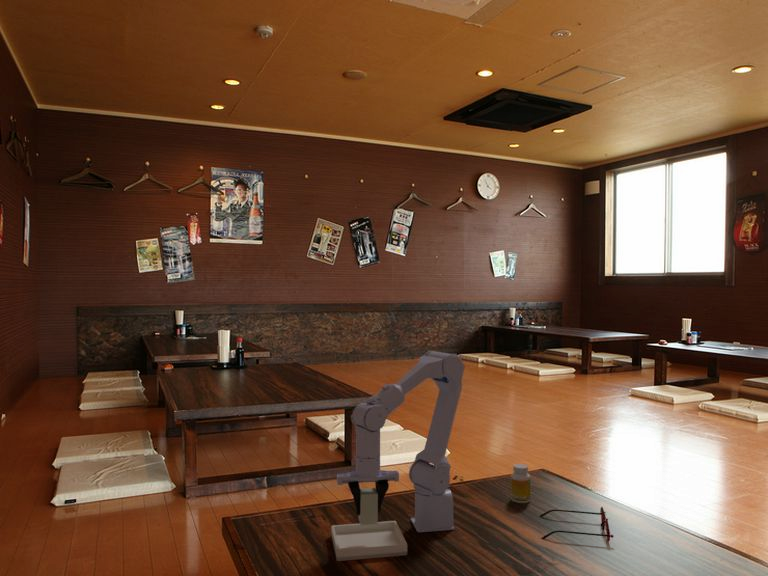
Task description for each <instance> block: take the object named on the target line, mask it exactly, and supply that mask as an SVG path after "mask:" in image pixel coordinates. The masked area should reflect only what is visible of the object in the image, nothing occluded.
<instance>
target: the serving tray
mask: <svg viewBox="0 0 768 576" xmlns="http://www.w3.org/2000/svg"><path fill="white" fill-rule="evenodd" d="M330 534H331V541H332V546H333V551H334V554H335V558H336V562H342V561H343V562H344V561H355V560H356V561H357V560H367V559H376V558H378V559H379V558H390V557H402V556H408V543H407V541H406V538H405V537H404V535H403V532H402V531H401V528H400V527H399V525H398V523H397V521H396V520H386V521H378V524H369V525H360V523H348V524H346V523H345V524H337V525H334V524H333V525H331V533H330Z"/></svg>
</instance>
